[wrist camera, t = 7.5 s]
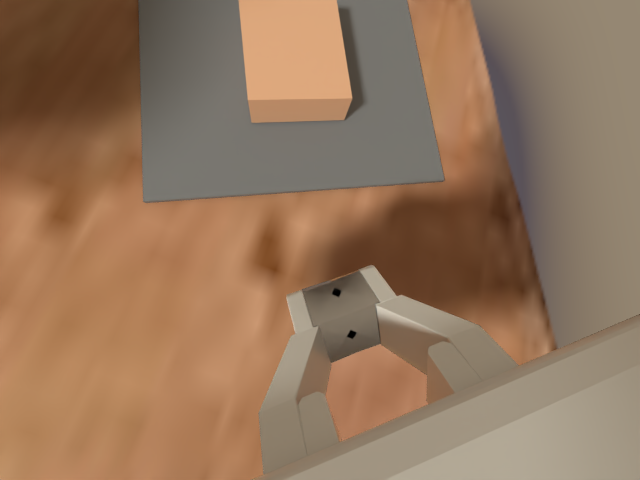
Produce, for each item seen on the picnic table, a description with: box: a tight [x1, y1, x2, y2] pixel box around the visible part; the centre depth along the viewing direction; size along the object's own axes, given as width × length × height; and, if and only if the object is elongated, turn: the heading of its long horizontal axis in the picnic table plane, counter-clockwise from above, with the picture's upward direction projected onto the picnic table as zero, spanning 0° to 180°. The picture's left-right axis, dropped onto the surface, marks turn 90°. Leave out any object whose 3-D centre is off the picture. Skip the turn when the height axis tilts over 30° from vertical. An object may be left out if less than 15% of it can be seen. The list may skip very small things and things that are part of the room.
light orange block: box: [239, 0, 352, 123], centre depth 21 cm, size 7×3×9 cm
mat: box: [138, 0, 444, 203], centre depth 22 cm, size 22×18×1 cm
